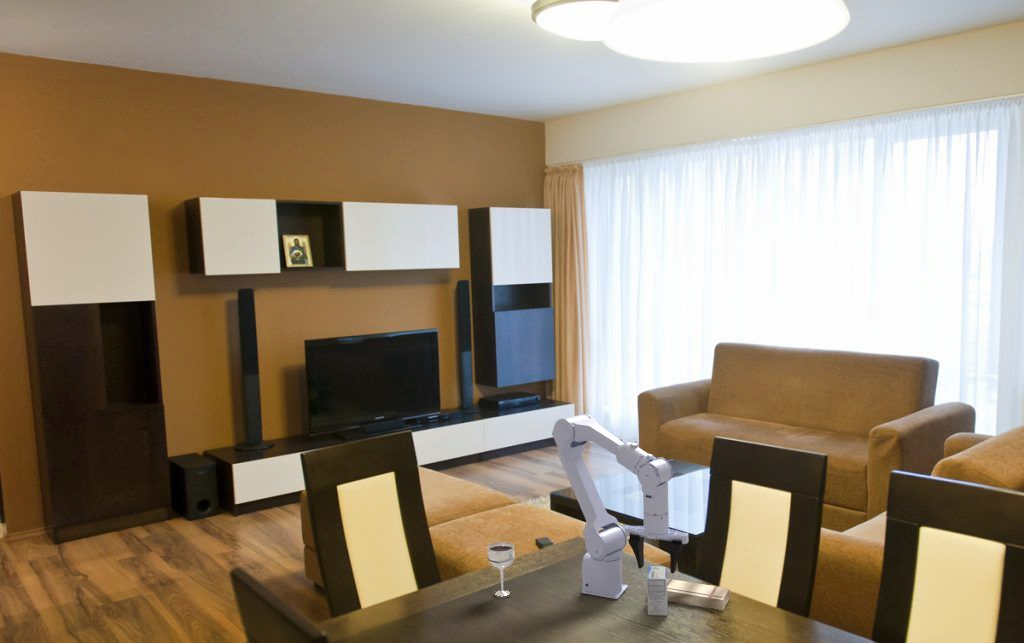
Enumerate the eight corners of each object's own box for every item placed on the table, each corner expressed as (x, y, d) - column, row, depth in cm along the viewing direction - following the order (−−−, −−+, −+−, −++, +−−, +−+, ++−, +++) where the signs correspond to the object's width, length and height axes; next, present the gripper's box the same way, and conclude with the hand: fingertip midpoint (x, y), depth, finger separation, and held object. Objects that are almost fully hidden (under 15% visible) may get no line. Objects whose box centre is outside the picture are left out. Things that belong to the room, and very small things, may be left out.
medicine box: (667, 616, 174) (666, 579, 173) (647, 615, 175) (646, 578, 174) (667, 601, 182) (666, 566, 181) (648, 600, 182) (647, 565, 182)
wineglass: (510, 601, 184) (508, 553, 183) (484, 598, 187) (482, 550, 186) (520, 590, 190) (518, 543, 190) (495, 587, 193) (493, 540, 192)
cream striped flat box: (647, 597, 184) (647, 586, 184) (655, 586, 190) (655, 576, 190) (723, 610, 176) (722, 599, 176) (729, 598, 182) (729, 587, 182)
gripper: (620, 513, 177) (621, 570, 177) (682, 520, 170) (683, 580, 171) (630, 504, 183) (631, 560, 184) (690, 511, 176) (691, 569, 177)
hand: (657, 569), depth 178 cm, fingers open, 7 cm apart
